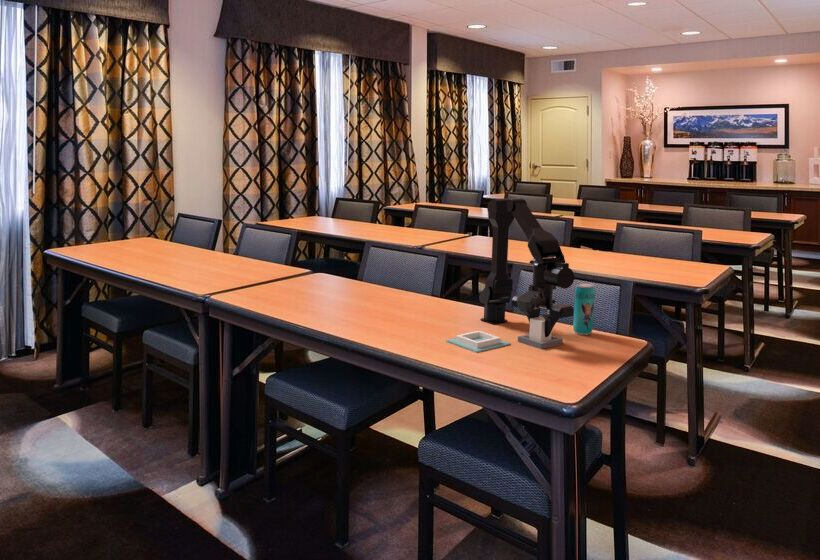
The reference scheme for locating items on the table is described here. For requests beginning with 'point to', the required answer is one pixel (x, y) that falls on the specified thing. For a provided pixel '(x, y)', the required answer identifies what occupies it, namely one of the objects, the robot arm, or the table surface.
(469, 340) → the socket
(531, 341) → the socket
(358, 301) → the table surface
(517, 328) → the table surface
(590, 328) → the beverage can
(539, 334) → the plug block
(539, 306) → the robot arm
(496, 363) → the table surface
